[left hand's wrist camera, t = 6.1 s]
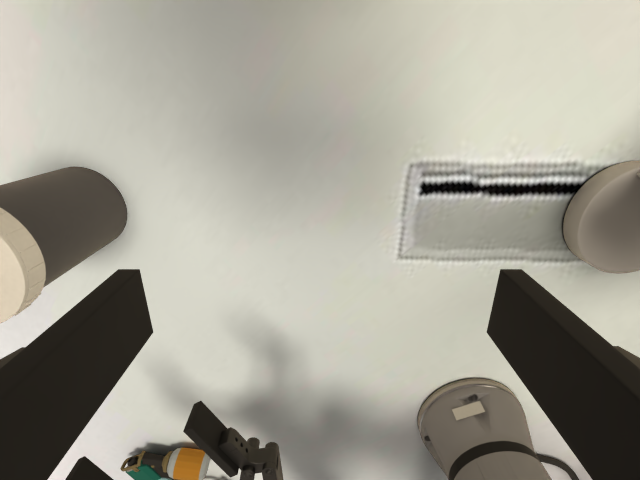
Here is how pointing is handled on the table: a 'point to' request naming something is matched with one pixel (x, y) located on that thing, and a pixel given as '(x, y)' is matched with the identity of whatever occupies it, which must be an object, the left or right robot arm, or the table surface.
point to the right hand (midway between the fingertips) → (129, 444)
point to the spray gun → (168, 465)
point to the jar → (66, 214)
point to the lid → (18, 267)
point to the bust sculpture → (607, 220)
